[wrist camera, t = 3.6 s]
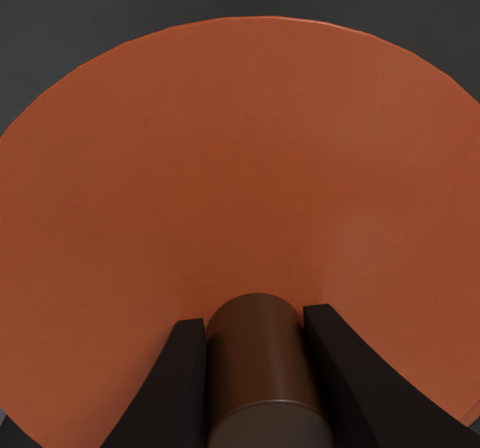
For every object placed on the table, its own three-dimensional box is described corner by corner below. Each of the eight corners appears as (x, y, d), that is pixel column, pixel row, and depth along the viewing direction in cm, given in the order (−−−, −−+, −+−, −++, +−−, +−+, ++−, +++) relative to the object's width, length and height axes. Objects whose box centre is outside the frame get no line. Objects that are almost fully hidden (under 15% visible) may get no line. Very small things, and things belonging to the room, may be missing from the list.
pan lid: (576, 339, 13) (738, 477, 9) (204, 527, 16) (201, 694, 12) (350, -161, 8) (507, -375, 4) (-151, 264, 10) (-376, 408, 6)
